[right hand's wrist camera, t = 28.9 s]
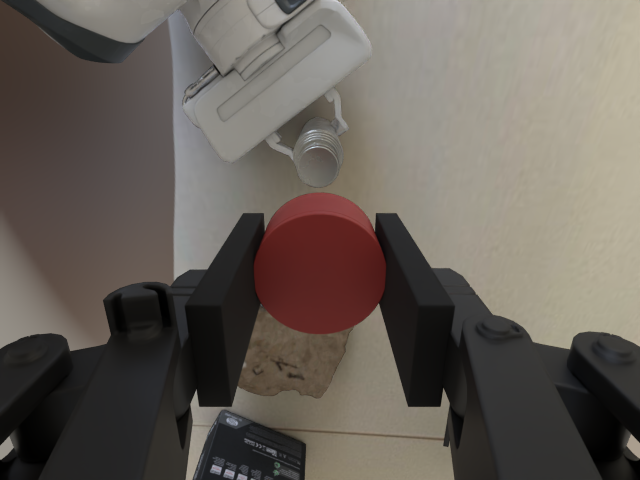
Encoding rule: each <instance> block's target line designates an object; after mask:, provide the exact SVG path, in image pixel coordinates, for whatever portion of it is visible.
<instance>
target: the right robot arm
mask: <svg viewBox="0 0 640 480" xmlns="http://www.w3.org/2000/svg"><path fill="white" fill-rule="evenodd" d="M264 233H265V227H264V213H243V215H242V216H241V218H240V219H239V221H238V222H237V224H236V226H235V227H234V229H233V230H232V232H231V233H230V235H229V237H228V238H227V240H226V241H225V243H224V244H223V246H222V248H221V249H220V251H219V252H218V254H217V255H216V257H215V259H214V260H213V262H212V263H211V265H210V266H209V268H208V270H189V271H187V272H186V273H184V274H182V275H181V276H179V277H177V278H176V280H175V281H174V282H173V284H172V285H171V286H168V285H167V284H164V283H159V282H142V283H137V284H131V285H128V286H125V287H122V288H119V289H118V290H116V291H114V292H112V293H110V294H109V295H108V296H107V297H106V298H105V299H104V300H103V302H104V307H105V311H106V315H107V319H108V324H109V328H110V332H111V336H110V338H109V340H108V342H107V344H104V345H101V346H96V347H91V348H85V349H80V350H75V351H70V349H69V346H68V342H67V339H66V338H64V337H63V336H62V335H58V334H52V333H49V334H36V335H31V336H30V337H29V336H27V337H24V338H21V339H19V340H17V341H15V342H13V343H10V344H8V345H6V346H4V347H3V348H1V349H0V445H1V444H2V443H3V442H4V441H5V440H6V439H7V438H8V437H9V436H10V439H11V441H12V444H13V446H14V448H13V449H12V450H11V452H10V453H9V454H8V455H7V456H5V457H4V458H3V459H2V460H0V480H185V479H186V471H187V463H188V455H189V447H190V439H191V431H192V423H193V419H192V413H191V406H190V403H191V401H192V398H193V396H194V394H195V391H196V389H197V394H198V401H199V407H232V403H233V400H234V396H235V393H236V389H237V386H238V382H239V378H240V375H241V371H242V368H243V364H244V361H245V357H246V354H247V350H248V346H249V343H250V339H251V336H252V332H253V329H254V325H255V322H256V318H257V314H258V311H259V307H260V304H261V302H260V300H259V298H258V296H257V294H256V291H255V280H254V260H255V257H256V254H257V251H258V249H259V246H260V244H261V241H262V238H263V236H264ZM375 234H376V237H377V239H378V242H379V244H380V247H381V249H382V252H383V254H384V257H385V261H386V276H385V290H384V293H383V296H382V298H381V300H380V302H379V305H380V308H381V312H382V315H383V319H384V322H385V326H386V330H387V333H388V337H389V340H390V344H391V347H392V351H393V354H394V358H395V362H396V365H397V369H398V372H399V376H400V379H401V383H402V386H403V390H404V394H405V397H406V401H407V404H408V407H440V406H441V400H442V393H443V388H444V390H445V392H446V395H447V397H448V399H449V402H450V406H449V413H448V419H447V425H446V432H445V438H444V445H443V446H446V447H448V446H449V441H450V446H451V454H452V462H453V471H454V479H455V480H640V459H639V458H638V457H637V456H635V455H634V454H633V453H632V452H631V451H630V450H629V448H628V447H627V446H626V445H627V443H628V440H629V438H630V435H631V434H632V435H633V436H634V437H635V438H636V439H637V440H638V441H639V443H640V347H639V346H637V345H636V344H634V343H632V342H630V341H627V340H625V339H623V338H621V337H619V336H616V335H613V334H612V335H610V334H609V333H604V332H601V333H600V332H583V333H579V334H577V335H576V336H575V337H574V338H573V341H572V345H571V348H570V350H569V349H564V348H559V347H553V346H548V345H543V344H538V343H534V342H533V341H532V340H531V338H530V336H529V334H528V333H527V332H526V330H525V329H524V328H523V327H522V326H520V325H518V324H517V323H515V322H514V321H512V320H509V319H506V318H504V317H501V316H496V315H493V314H492V313H491V312H490V311H489V309H488V308H487V307H486V305H485V304H484V303H483V302H482V300H481V299H480V298H479V296H478V295H476V293H475V291H474V290H473V289H472V288H471V287H470V285H469V284H468V282H467V281H466V280H465V279H464V277H463V276H462V275H460V274H458V273H456V272H455V271H453V270H451V269H450V268H431V267H430V265H429V264H428V262H427V261H426V259H425V257H424V256H423V254H422V253H421V251H420V250H419V248H418V246H417V245H416V243H415V242H414V240H413V239H412V237H411V235H410V234H409V232H408V231H407V229H406V228H405V226H404V224H403V223H402V221H401V220H400V218H399V217H398V215H397V213H376V222H375Z"/></svg>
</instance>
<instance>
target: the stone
mask: <svg viewBox="0 0 640 480" xmlns="http://www.w3.org/2000/svg"><path fill="white" fill-rule="evenodd" d="M353 327H354V326H353ZM353 327H351V328H349V329H346V330H343V331H340V332H336V333H331V334H308V333H304V332H299V331H296V330H294V329H291V328H289V327H287V326H285V325H283V324H282V323H280V322H278V321H277V320H276V319H275V318H273V317H272V316H271V315H270V314H269V313H268V312H267V311H266V309H265V308H263V307H261V306H260V307H259V311H258V314H257V318H256V322H255V325H254V329H253V332H252V336H251V339H250V343H249V346H248V350H247V354H246V357H245V361H244V364H243V368H242V371H241V375H240V378H239V382H238V386H239V387H240V388H242V389H244V390H246V391H248V392H251V393H255V394H258V395H262V396H274V395H276V394H278V393H279V392H281V391H284V390H297V391H298V392H299V393H300V395H309V396H313V397H314V398H320V397H321V396H322V395H323V394H324V392H325V391H326V390H327V388H328V386H329V384H330V382H331V380H332V377H333V375H334V373H335V371H336V368H337V366H338V364H339V362H340V361H341V359H342V357H343V355H344V353H345V351H346V350H345V345H346V342H347V338H348V335H349V332H350V331H351V330H352V329H353Z"/></svg>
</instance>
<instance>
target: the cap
mask: <svg viewBox="0 0 640 480" xmlns="http://www.w3.org/2000/svg"><path fill="white" fill-rule="evenodd" d="M385 276H386V261H385V257H384V254H383V252H382V249H381V247H380V244H379V242H378V239H377V237H376V234H375V232H374V229H373V227H372V224H371V222H370V220H369V219H368V217H367V216H366V214H365V213H364V212H363V211H362V210H361V209H360V208H359V207H358V206H357V205H355V204H354V203H353V202H351V201H349V200H348V199H346V198H343V197H341V196H338V195H334V194H330V193H310V194H305V195H302V196H299V197H296V198H294V199H292V200H290V201H289V202H287V203H286V204H284V205H283V206H282V207H281V208H280V209H279V210H278V211H277V212H276V213H275V214H274V215H273V217H272V218H271V220H270V222H269V224H268V226H267V228H266V231H265V233H264V236H263V238H262V241H261V244H260V246H259V249H258V251H257V254H256V257H255V260H254V280H255V291H256V294H257V296H258V298H259V300H260V302H261V304H262V305H263V307H264V308H265V309H266V311H267V312H268V313H269V314H270V315H271V316H272V317H273V318H275V319H276V320H277V321H278V322H280V323H282V324H283V325H285V326H287V327H289V328H291V329H294V330H296V331H299V332H304V333H308V334H331V333H336V332H340V331H343V330H346V329H349V328H351V327H353V326H355V325H357V324H358V323H360V322H361V321H363V320H364V319H365V318H366V317H367V316H369V315H370V314H371V312H372V311H373V310H374V309H375V308H376V306H377V305H378V303H379V302H380V300H381V298H382V296H383V293H384V290H385Z"/></svg>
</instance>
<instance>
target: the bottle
mask: <svg viewBox="0 0 640 480" xmlns="http://www.w3.org/2000/svg"><path fill="white" fill-rule="evenodd" d="M343 158H344V153H343V148H342V145H341V143H340V140H339V138H338V136H337V133H336V131H335V129H334V128H333V127H332V126H331V124H330V121H328V120H327V119H325V118H321V117H317V118H313V119H310V120H309V121H308V122H307V123H306V124H305V125H304V127H303V129H302V131H301V133H300V135H299V138H298V140H297V142H296V144H295V147H294V150H293V161H294V164H295V167H296V170H297V174H298V176H299V178H300V180H301V181H302V182H303V183H304V184H305V183H306V184H307V185H309V186H312V187H316V188H321V187H326V186H328V185H329V184H331V183H332V182H333V181H334V180H335V179H336V177H337V176H338V173H339V170H340V168H341V166H342V163H343Z"/></svg>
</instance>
